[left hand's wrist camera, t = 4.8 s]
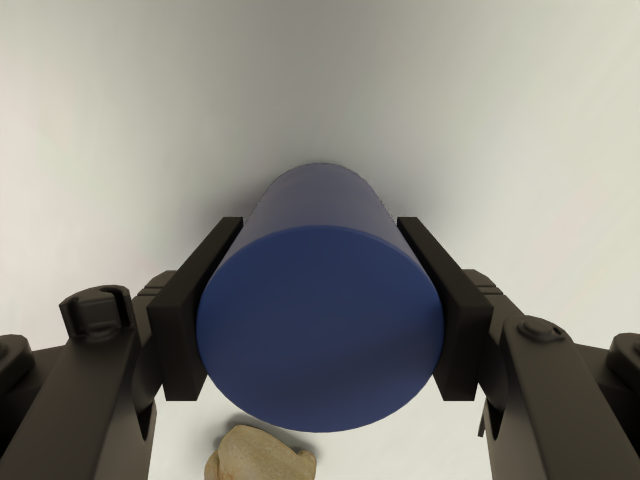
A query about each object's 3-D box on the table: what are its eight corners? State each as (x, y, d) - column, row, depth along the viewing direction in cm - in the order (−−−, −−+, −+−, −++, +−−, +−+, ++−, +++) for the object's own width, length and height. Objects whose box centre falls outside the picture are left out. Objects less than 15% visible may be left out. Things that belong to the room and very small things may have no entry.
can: (357, 297, 18) (388, 454, 10) (242, 264, 17) (175, 404, 9) (404, 187, 16) (491, 271, 8) (274, 144, 15) (223, 189, 7)
